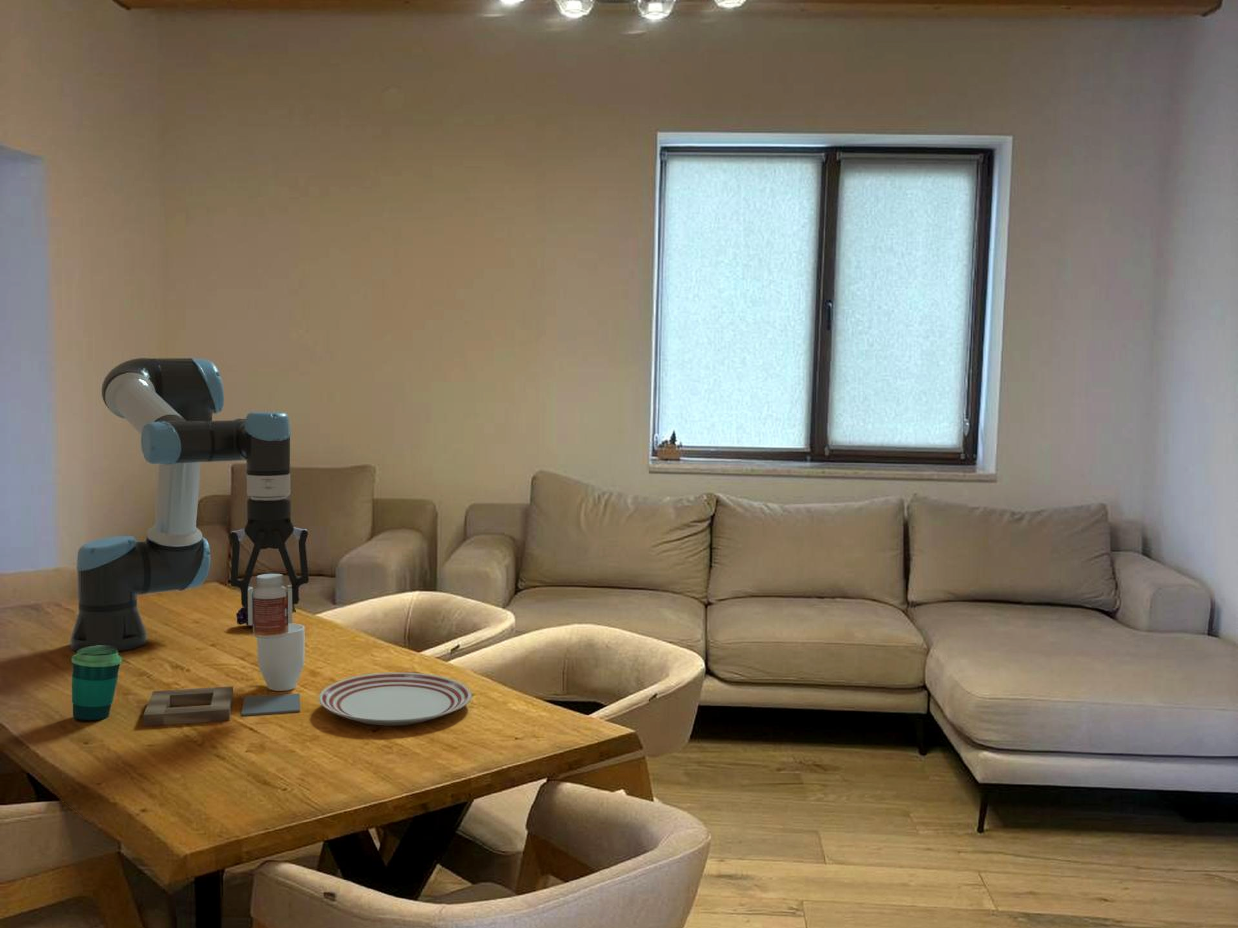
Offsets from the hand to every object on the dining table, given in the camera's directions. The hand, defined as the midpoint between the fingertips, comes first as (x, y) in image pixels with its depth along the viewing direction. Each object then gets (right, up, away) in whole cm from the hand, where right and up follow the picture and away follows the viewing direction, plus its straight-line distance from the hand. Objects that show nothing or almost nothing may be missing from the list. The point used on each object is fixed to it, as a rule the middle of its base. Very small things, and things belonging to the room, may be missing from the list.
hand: (270, 622), depth 202 cm
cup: (-29, -16, -6) cm, 33 cm away
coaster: (0, -16, +2) cm, 16 cm away
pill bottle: (0, -3, 0) cm, 3 cm away
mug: (-3, -15, +13) cm, 20 cm away
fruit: (-20, -10, +60) cm, 64 cm away
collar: (-14, -16, -2) cm, 21 cm away
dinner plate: (+23, -17, +1) cm, 28 cm away
